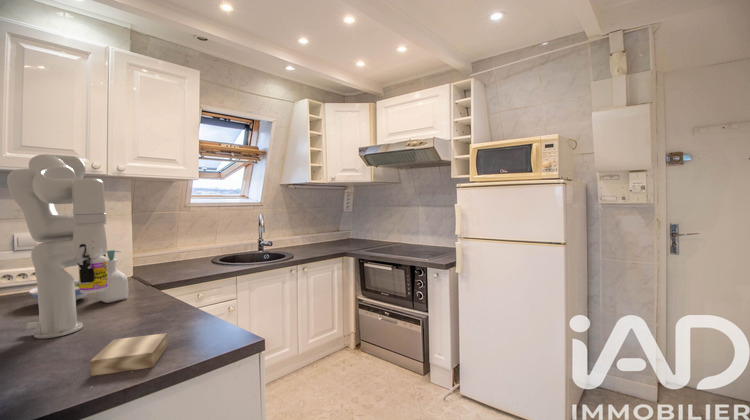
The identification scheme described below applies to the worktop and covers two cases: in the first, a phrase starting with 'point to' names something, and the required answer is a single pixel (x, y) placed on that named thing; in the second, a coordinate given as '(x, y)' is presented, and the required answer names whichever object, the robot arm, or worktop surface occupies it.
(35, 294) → the ramen bowl
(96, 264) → the supplement bottle
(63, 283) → the robot arm
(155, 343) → the block
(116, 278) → the soap bottle
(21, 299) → the worktop surface
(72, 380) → the worktop surface
